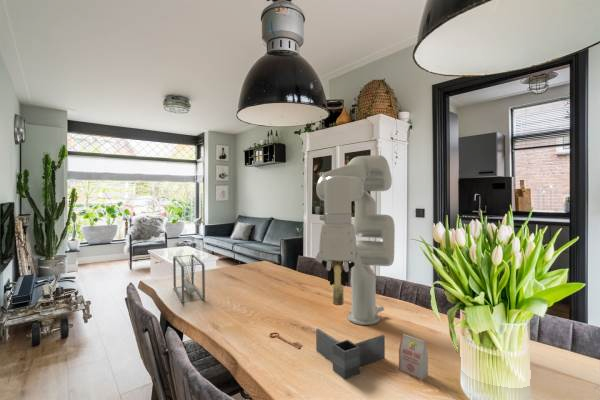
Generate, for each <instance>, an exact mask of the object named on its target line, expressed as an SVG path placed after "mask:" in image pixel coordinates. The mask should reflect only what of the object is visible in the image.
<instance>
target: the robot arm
mask: <svg viewBox="0 0 600 400" xmlns="http://www.w3.org/2000/svg"><path fill="white" fill-rule="evenodd" d="M392 183H393V179H392V174H391V169H390V164H389V163H388V160H387V158H386V157H384V155H381V154H375V155H374V154H373V155H358V156H355V157H353V158H352V159H351V160H350V161H349V162H348V163H347V164H346V165H344V166H341V167H340V166H339V167H337V168H334V169H331V170H328V171H326V172H325V173H323V174H322V175H321V176H320V177H319V179H318V180H317V182H316V189H315V191H316V195H317V197H318V198H319V199H320V200H321V201H324V214H322V215H319V220H320V221H323V224H321V228H320V234H319V247H318V249H319V250H318V252H317V254H316V256H315V258H314V260H315V261H317V262H318V263H319V264H321V265H322V266H323V267H324V268H325V269H326V271H327V282H329V286H333V261H343V287H346V285H347V283H349V280H350V278H349V276H350V275H351V281H350V283H351V285H350V286H351V312H349V313H348V314H347V320H348V321H350V322H351V323H353V324H356V325H361V326H371V325H376V324H377V323H378V324H379V322H380V320H381V319H380V315H378V314H379V313H381V312H384V311H385V307H384V306H382V305H380V306H377V305H376V304H377V303H376V300H377V299H376V293H377V292H376V288H377V287H376V285H377V284H376V281H377V280H376V273H375V272H374V270H373V269H372V267H371V266H376V267H377V266H378V267H391V266H392V265H393V264H394V260H395V241H396V240H395V239H396V238H395V235H396V233H395V231H396V230H395V228H396V227H395V226H396V225H395V221H394V218H393V217H392V216H391V215H389V214H377V201H376V199H374V198H373V196H372V195H371V194H370V193H369V192H386V191H388V190H390V189H391V187H392ZM352 202H354V221H353V223H354V224H353V223H352ZM357 237H360V238H368V239H369V238H371V239H380V240H382V241H379V240H357ZM350 270H351V271H350ZM350 272H351V273H350ZM349 273H350V275H349Z"/></svg>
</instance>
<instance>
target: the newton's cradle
mask: <svg viewBox="0 0 600 400" xmlns="http://www.w3.org/2000/svg"><path fill="white" fill-rule="evenodd" d="M185 257H186V259H185V262H184V258H185ZM172 259H173V263H172V264H173V267H172V269H173V276H172V277H173V289H174V290H175V293H176V295H177V297H178V298H179V300H180V302H181V303H182V304H183V303H185V302H192V301H198V300H205V297H206V283H205V282H206V281H205V280H206V279H205V278H206V277H205V276H206V274H205V271H206V270H205V264H204V262H203V261H202V260H201V259H200V258H199V257H197V256H196V255H195V254H189V255H179V256H178V255H174V256H173V258H172ZM189 259H190V260H189ZM188 262H189V263H188ZM176 263H177V264H178V265H179V266H180V270H181V271H180V272H181V273H180V277H181V286H177V283H176V282H177V276H176V275H177V274H176V273H177V272H176V268H177V267H176ZM199 265H201V275H202V276H201V278H202V279H201V282H202V283H201V287H202V292H200V290H199V289H198V288H197V286H196V285H195V282H194V276H195V271H196V270H195V269H196V268H195V266H199ZM187 267H188V268H187ZM178 288H180V289H181V293H180V291H179V289H178ZM185 290H186V291H187V293H188V294H189V295H191V294H194V293H195V292H196V293H197V295H198V296H199V297H200V298H199V297H198V298H194V299H186V300H185Z"/></svg>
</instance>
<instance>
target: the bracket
mask: <svg viewBox="0 0 600 400" xmlns="http://www.w3.org/2000/svg"><path fill="white" fill-rule="evenodd" d="M315 332H316V333H315V338H316V339H315V343H316V345H315V347H316V348H315V350H316V352H317V353H319V354H320V355H321V356H323V357H324V358H325V359H327V360H328V361H330V362H331V363H332V371H333V372H334V373H336V374H337V375H338V376H339V377H341V378H342V379H343V380H348V379H350V378H353V377H356V376H358V375H360V374H361V368H363V367H366V366H368V365H371V364H374V363H376V362H380V361H382V360H384V359H386V357H385V356H386V355H385V354H386V353H385V352H386V351H385V350H386V347H385V346H386V345H385V344H386V342H385V341H386V340H385V338H386V336H385V335H384V334H381V335H378V336H376V337H372V338H368V339H366V340H363V341H359V342H356V343H354V342H352V341H350V340H349V339H345V340H342V341H339V340H337V339H335V338H334V337H332V336H331V335H329V334H327V333H326V332H325V331H323V330H321V329H320V328H316V329H315Z"/></svg>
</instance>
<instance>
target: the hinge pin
mask: <svg viewBox="0 0 600 400" xmlns="http://www.w3.org/2000/svg"><path fill="white" fill-rule="evenodd" d="M332 267H333V285H332V304H333V305H335V306H343V305H344V301H345V299H344V298H345V297H344V294H345V293H344V286H343V271H344V261H333V264H332Z"/></svg>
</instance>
